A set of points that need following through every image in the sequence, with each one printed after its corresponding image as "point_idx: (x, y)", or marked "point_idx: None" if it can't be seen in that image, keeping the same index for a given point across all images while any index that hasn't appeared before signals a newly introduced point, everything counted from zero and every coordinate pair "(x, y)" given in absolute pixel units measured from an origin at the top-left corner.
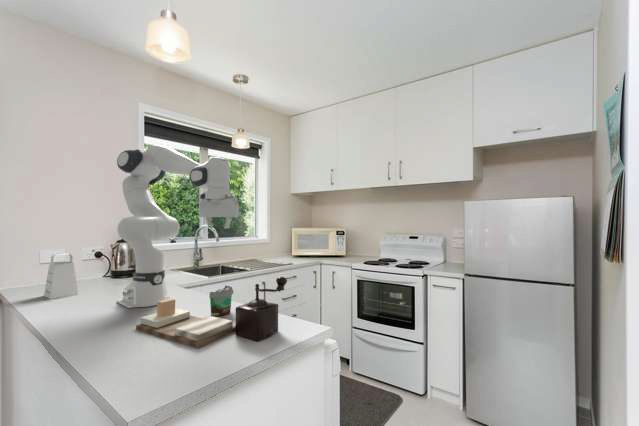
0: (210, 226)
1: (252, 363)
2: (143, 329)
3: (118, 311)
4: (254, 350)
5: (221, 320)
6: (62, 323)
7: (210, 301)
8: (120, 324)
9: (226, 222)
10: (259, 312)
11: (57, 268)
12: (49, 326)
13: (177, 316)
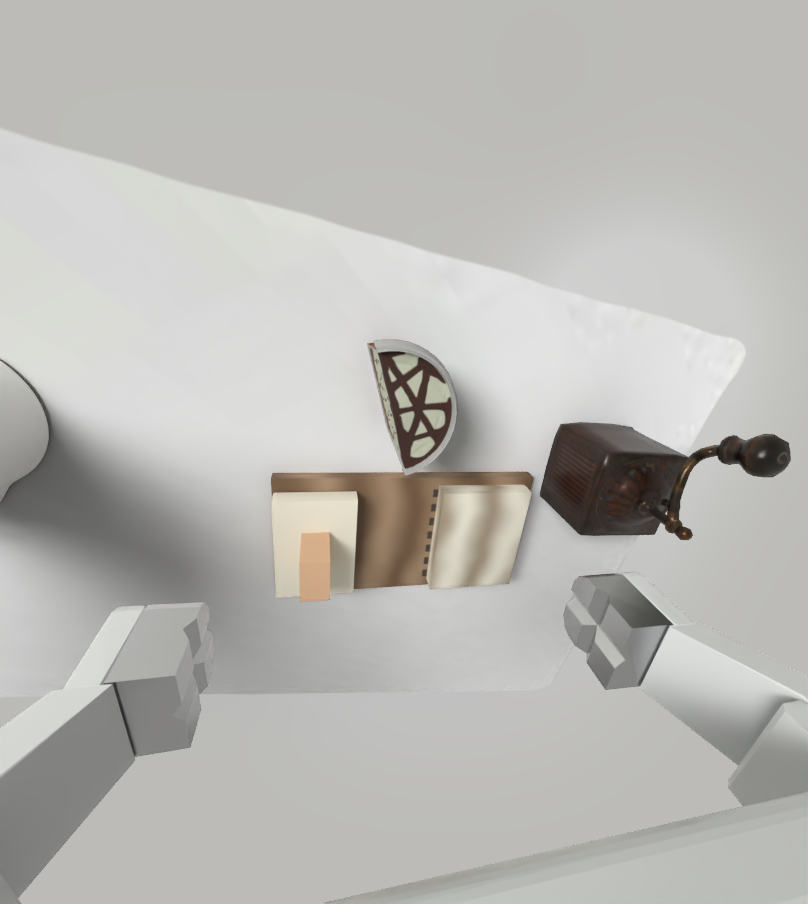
0: (204, 678)
1: (624, 559)
2: None
3: (14, 539)
4: None
5: (502, 504)
6: (30, 660)
7: (398, 455)
8: (193, 588)
9: (690, 716)
10: (654, 531)
11: None
12: (35, 681)
13: (355, 537)
